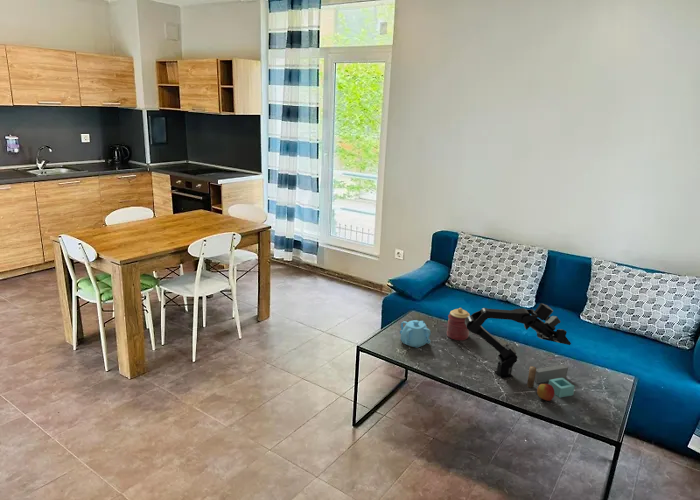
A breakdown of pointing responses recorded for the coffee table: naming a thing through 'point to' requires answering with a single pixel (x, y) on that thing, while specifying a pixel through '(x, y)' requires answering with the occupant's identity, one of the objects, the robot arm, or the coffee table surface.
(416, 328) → the decorative pot
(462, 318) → the canister
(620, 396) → the coffee table surface
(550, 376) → the wall
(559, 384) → the holed block
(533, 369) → the dowel
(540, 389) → the apple
